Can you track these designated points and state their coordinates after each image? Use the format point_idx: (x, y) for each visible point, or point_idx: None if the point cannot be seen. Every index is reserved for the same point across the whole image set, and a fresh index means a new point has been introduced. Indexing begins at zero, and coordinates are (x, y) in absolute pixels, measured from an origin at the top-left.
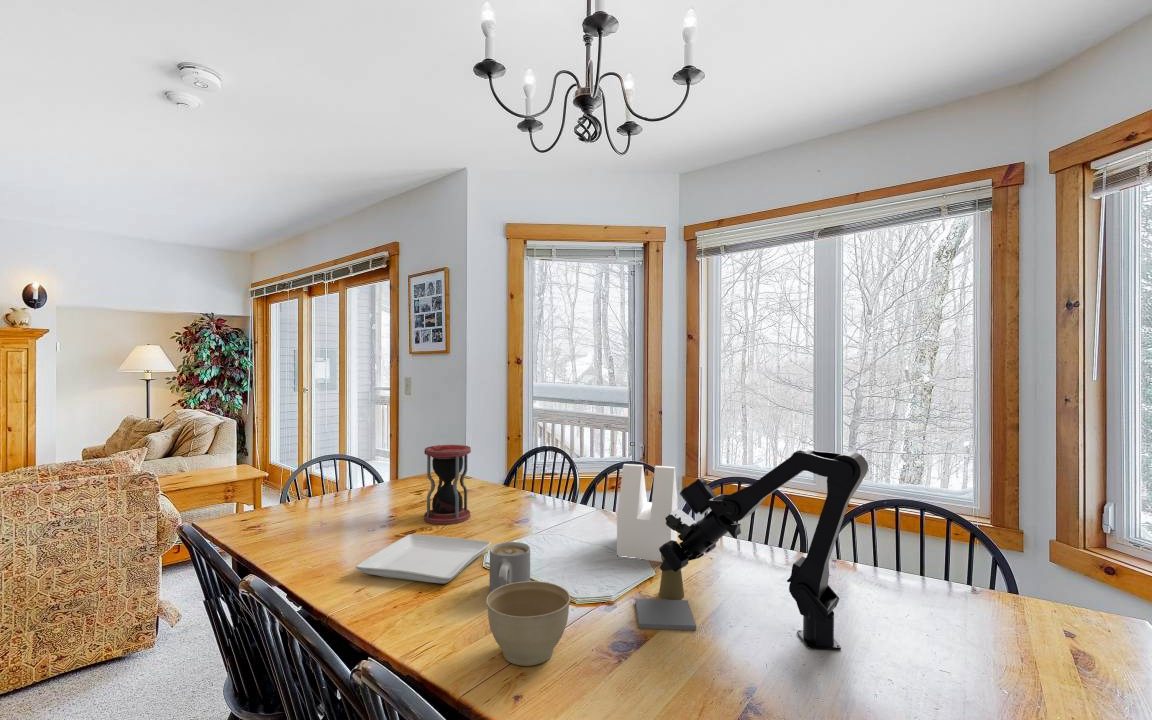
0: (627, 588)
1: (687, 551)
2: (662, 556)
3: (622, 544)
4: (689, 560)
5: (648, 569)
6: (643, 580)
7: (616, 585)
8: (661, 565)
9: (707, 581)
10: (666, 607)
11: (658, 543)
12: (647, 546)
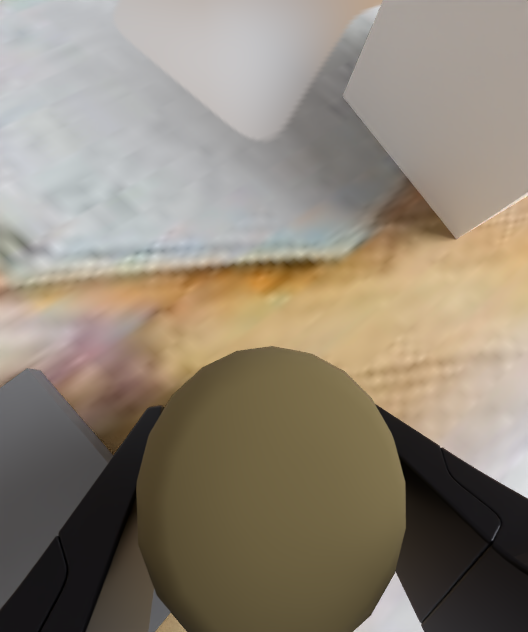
0: (151, 257)
1: (473, 618)
2: (154, 425)
3: (378, 58)
4: (403, 584)
5: (352, 217)
6: (262, 258)
7: (144, 213)
8: (130, 437)
9: (459, 443)
10: (30, 565)
11: (489, 149)
12: (443, 129)
